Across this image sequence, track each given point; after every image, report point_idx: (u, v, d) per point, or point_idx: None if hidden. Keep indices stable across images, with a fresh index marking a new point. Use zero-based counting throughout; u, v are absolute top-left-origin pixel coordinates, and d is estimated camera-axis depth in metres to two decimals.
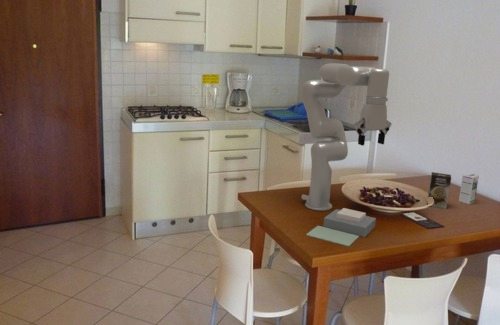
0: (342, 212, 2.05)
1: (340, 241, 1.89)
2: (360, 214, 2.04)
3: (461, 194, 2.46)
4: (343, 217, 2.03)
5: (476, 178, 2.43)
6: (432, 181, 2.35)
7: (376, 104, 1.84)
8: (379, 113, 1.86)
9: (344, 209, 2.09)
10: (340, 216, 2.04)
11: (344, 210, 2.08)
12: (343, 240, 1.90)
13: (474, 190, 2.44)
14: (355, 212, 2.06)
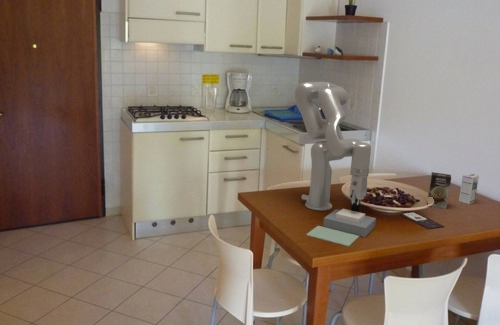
0: (341, 213, 2.04)
1: (340, 241, 1.89)
2: (359, 215, 2.03)
3: (461, 194, 2.46)
4: (342, 218, 2.02)
5: (476, 178, 2.43)
6: (432, 181, 2.35)
7: None
8: None
9: (343, 210, 2.08)
10: (339, 217, 2.03)
11: (343, 210, 2.07)
12: (343, 240, 1.90)
13: (474, 190, 2.44)
14: (354, 213, 2.05)
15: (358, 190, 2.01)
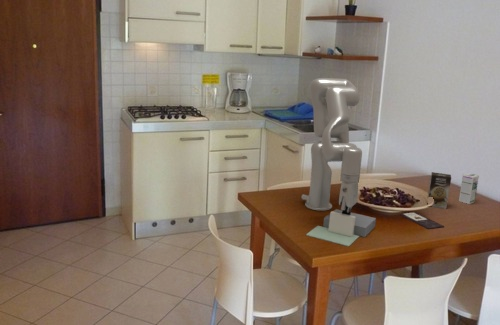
0: (332, 227, 1.97)
1: (340, 241, 1.89)
2: (350, 225, 1.94)
3: (461, 194, 2.46)
4: None
5: (476, 178, 2.43)
6: (432, 181, 2.35)
7: None
8: None
9: (332, 216, 1.97)
10: None
11: (332, 219, 1.97)
12: (343, 240, 1.90)
13: (474, 190, 2.44)
14: (344, 221, 1.95)
15: (348, 197, 1.91)
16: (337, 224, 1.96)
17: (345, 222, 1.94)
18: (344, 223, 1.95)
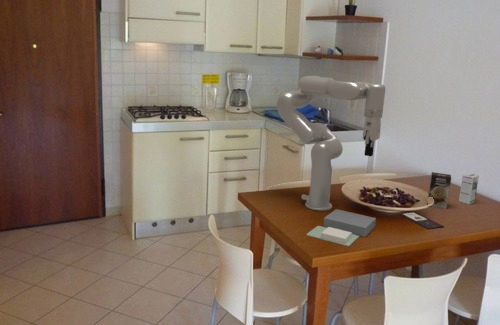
0: None
1: None
2: None
3: (461, 194, 2.46)
4: None
5: (476, 178, 2.43)
6: (432, 181, 2.35)
7: None
8: None
9: None
10: None
11: None
12: None
13: (474, 190, 2.44)
14: None
15: (372, 131, 2.01)
16: None
17: None
18: None
